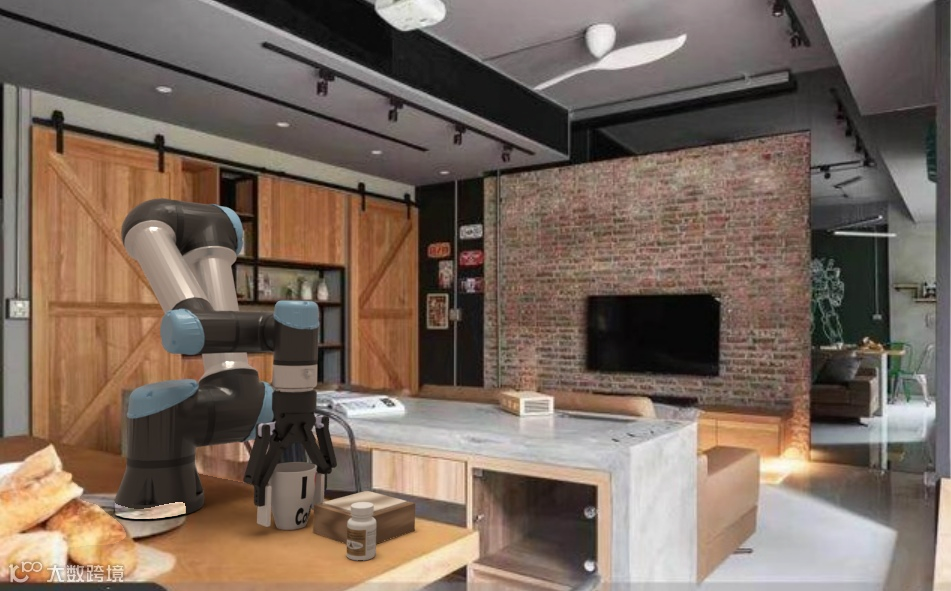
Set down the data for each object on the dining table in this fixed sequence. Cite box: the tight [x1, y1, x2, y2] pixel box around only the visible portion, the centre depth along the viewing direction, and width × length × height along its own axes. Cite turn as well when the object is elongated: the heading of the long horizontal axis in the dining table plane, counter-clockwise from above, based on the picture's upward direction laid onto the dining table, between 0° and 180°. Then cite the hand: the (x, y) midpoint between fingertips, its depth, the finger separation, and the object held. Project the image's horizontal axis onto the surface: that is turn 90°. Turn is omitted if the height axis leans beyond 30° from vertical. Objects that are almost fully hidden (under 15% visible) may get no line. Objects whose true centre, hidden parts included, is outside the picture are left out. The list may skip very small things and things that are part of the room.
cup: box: [268, 461, 317, 531], centre depth 114 cm, size 8×8×10 cm
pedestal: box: [312, 490, 416, 544], centre depth 112 cm, size 12×12×5 cm
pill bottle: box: [346, 502, 377, 561], centre depth 100 cm, size 4×4×8 cm
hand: (291, 517), depth 114 cm, fingers open, 10 cm apart
